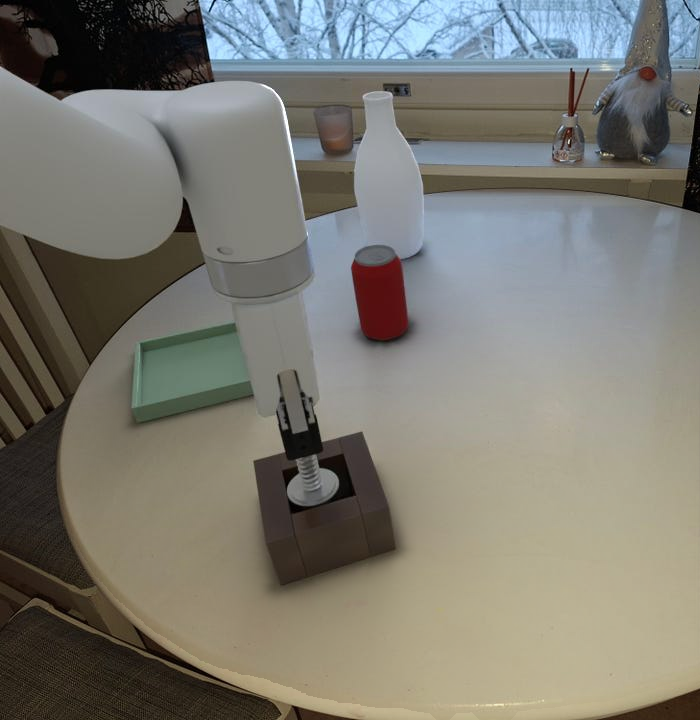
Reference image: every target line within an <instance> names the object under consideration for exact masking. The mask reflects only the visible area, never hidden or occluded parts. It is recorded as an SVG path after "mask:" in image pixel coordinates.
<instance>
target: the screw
mask: <svg viewBox="0 0 700 720" xmlns="http://www.w3.org/2000/svg"><path fill="white" fill-rule="evenodd" d="M286 410H287V407H286ZM287 412H288V411H287ZM296 461H297V466H298V470H299V474H298V475H296V476H295V477H294V478H293V479H292V480H291V482H290V483H289V485H288V487H287V495H288V498H289V500H290V501H291V502H292V503H293V504H294V505H296V506H298V507H301V508H304V509H303V510H309V509H312V508H316V507H319V506H323V505H326V504H329V503H330V502H331V501H330V500H332V499H333V498H334V497H335V495H336V494H337V492H338V490H339V480H338V477H337V476H336V475H335V473H333V472H332V471H330V470H327V469H323V468H319V465H318V461H317V456H316V454H315V455H311V456H307V457H303V458H299V459H296ZM332 501H333V500H332Z"/></svg>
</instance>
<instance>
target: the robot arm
mask: <svg viewBox="0 0 700 720" xmlns="http://www.w3.org/2000/svg"><path fill="white" fill-rule="evenodd" d="M298 177H299V176H298V173H297V166H296V161H295V155H294V150H293V145H292V138H291V132H290V127H289V123H288V118H287V113H286V108H285V105H284V103H283V100H282V99H281V97H280V96H279V95H278V94H277V93H276V92H275V90H274V89H272V88H271V87H269V86H267V85H265V84H263V83H260V82H259V83H258V82H254V81H246V80H224V81H223V80H222V81H213V82H207V83H201V84H197V85H194V86H190V87H186V88H185V89H182V90H137V89H134V90H133V89H90V90H83V91H80V92H76V93H73V94H70V95H68V96H66V97H64V98H62V99H58V98H57V97H55V96H53V95H51V94H49V93H47V92H45V90H42V89H40V88H39V87H37V86H34V84H31V83H29V82H28V81H26V80H24V79H22V78H21V77H19V76H17V75H16V74H13V73H12V72H11V71H8V70H7V69H5V68H4V67H2V66H0V226H1V227H3V228H6V229H8V230H11V231H13V232H16V233H17V234H21V235H23V236H26V237H28V238H30V239H33V240H36V241H39V242H41V243H43V244H46V245H49V246H51V247H54V248H57V249H60V250H62V251H66V252H68V253H69V252H70V253H73V254H77V255H81V256H84V257H88V258H89V257H91V258H96V259H100V260H102V259H103V260H124V259H126V260H127V259H132V258H136V257H139V256H143V255H146V254H148V253H149V252H152V251H153V250H155V249H158V248H159V247H160V246H161V245H162V244H163V243H165V242H166V241H167V240H168V239H169V238H170V237H171V235H172V234H173V233H174V231H175V230H176V228H177V226H178V223H179V221H180V218H181V215H182V210H183V203H184V199H185V200H186V202H187V205H188V207H189V211H190V214H191V215H190V216H191V218H192V222H193V225H194V228H195V232H196V236H197V240H198V243H199V247H200V249H201V252H202V257H203V260H204V264H205V267H206V271H207V274H208V278H209V281H210V284H211V285H210V286H211V288H212V291H213V293H214V295H215V296H216V297H217V298H219V299H220V300H222V301H225V302H227V303H230V305H231V306H230V307H231V311H232V315H233V319H234V320H233V321H235V325H236V329H237V333H238V337H239V340H240V344H241V348H242V352H243V356H244V359H245V363H246V367H247V371H248V374H249V378H250V382H251V386H252V390H253V394H254V395H253V399H254V402H255V405H256V409H257V414H258V415H259V416H261V417H262V418H264V419H266V418H268V417H272V416H275V415H276V419H277V422H278V423H277V425H278V430H279V434H280V438H281V441H282V446H283V450H284V452H285V454H286V457H287V459H288V460H290V461H291V460H295V459H299V458H303V457H307V456H311V455H315V454H319V453H321V452H322V451H323V445H322V442H323V441H322V437H321V436H322V435H321V432H320V426H319V421H318V416H317V414H316V413H315V409H314V407H315V406H316V405H317V404H318V403H319V401H320V392H319V383H318V376H317V375H318V374H317V366H316V359H315V354H314V347H313V341H312V335H311V329H310V324H309V319H308V312H307V307H306V302H305V297H304V292H303V291H304V290H305V289H306V288H308V287H309V286H310V285H311V284H312V282H313V281H314V278H315V276H316V271H315V265H314V259H313V254H312V249H311V243H310V237H309V233H308V228H307V223H306V217H305V210H304V204H303V199H302V194H301V189H300V188H301V187H300V182H299V178H298ZM183 198H184V199H183ZM286 407H287V410H286ZM287 411H288V412H287Z"/></svg>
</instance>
